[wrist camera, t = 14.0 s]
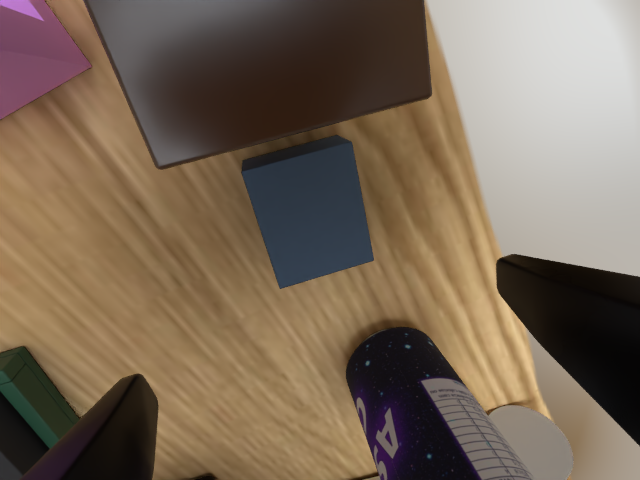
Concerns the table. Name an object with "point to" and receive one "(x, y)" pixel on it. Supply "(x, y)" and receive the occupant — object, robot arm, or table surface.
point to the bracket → (33, 53)
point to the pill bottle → (424, 414)
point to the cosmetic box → (374, 478)
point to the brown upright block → (258, 67)
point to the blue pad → (309, 209)
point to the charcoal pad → (17, 443)
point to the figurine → (535, 441)
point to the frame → (35, 396)
